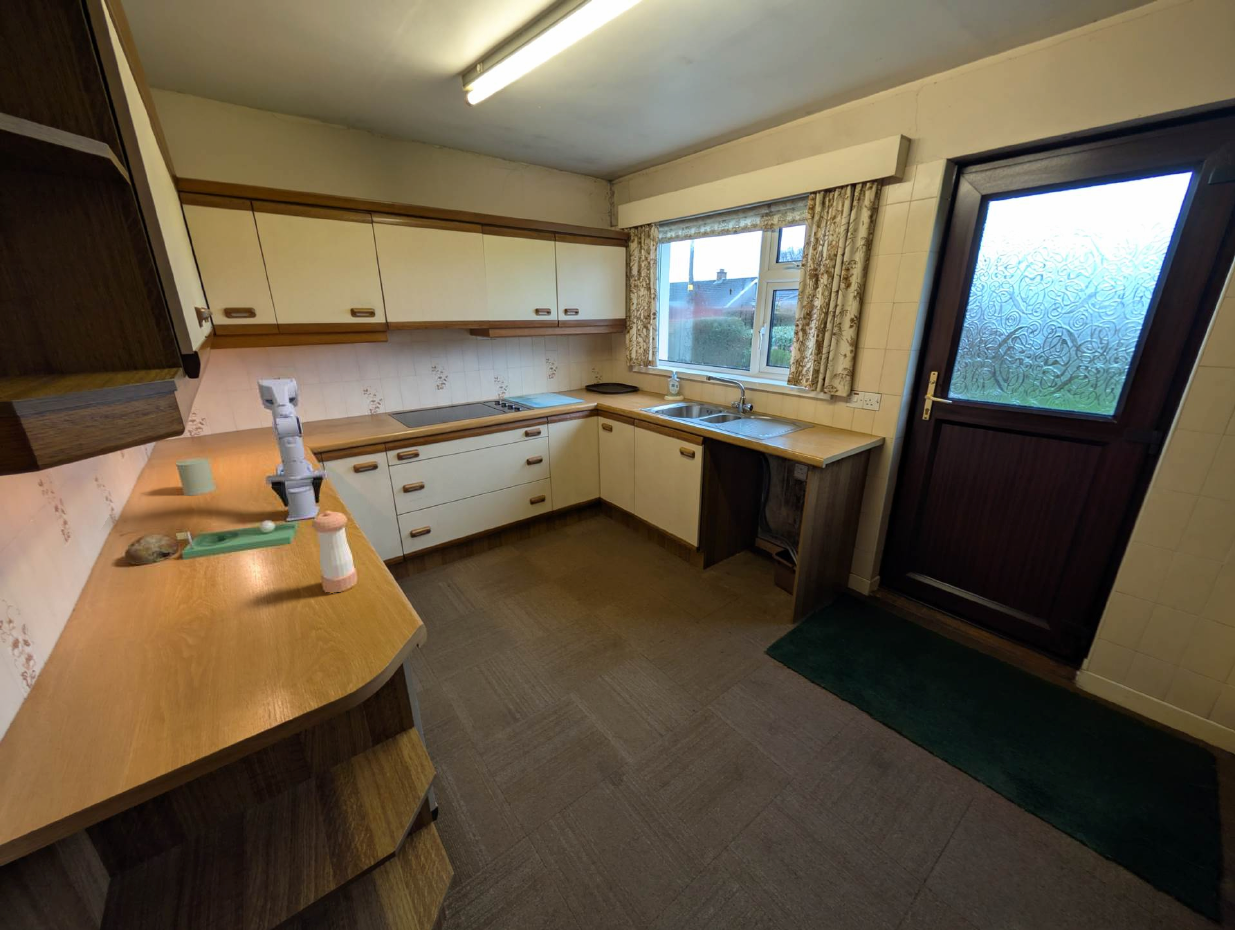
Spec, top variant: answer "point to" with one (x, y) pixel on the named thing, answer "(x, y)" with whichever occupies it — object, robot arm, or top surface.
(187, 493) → the can
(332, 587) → the pepper shaker
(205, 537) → the green
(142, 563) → the brown rounded lump
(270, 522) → the ball
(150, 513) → the top surface
